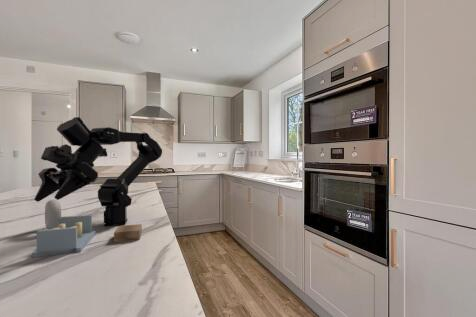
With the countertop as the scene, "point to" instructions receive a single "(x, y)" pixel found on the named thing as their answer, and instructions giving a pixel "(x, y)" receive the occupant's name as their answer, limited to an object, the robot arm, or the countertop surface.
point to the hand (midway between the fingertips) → (45, 199)
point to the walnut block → (128, 233)
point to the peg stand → (65, 236)
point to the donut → (52, 214)
